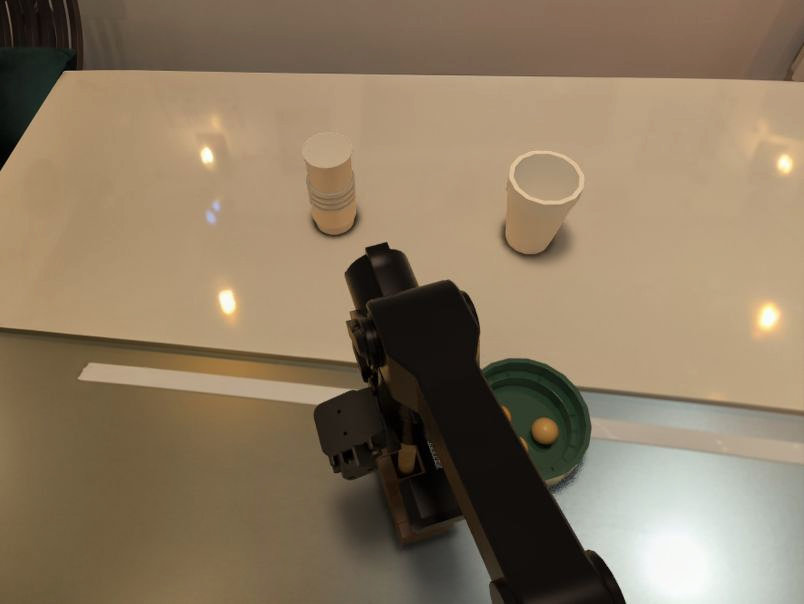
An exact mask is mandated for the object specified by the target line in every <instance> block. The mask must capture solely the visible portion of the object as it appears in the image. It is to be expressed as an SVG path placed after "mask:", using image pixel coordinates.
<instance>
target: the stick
mask: <svg viewBox="0 0 804 604" xmlns="http://www.w3.org/2000/svg"><path fill="white" fill-rule="evenodd" d="M401 446H402V449H401V450H399V456H398V463H397V477H398V479H402V478H405V477H409V476H412V475H414V470H415V456H416V449H415V446H412V445H404V444H403V443H402V444H401Z"/></svg>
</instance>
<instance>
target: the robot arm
mask: <svg viewBox="0 0 804 604" xmlns="http://www.w3.org/2000/svg"><path fill="white" fill-rule="evenodd" d="M364 253H365V254H363V255H361V256H360V257H358V258H357V259H355V260H354V261H353V262H352V263H351V264H350V265H349V266H348V267H347V268H346V271H344V279H345V282H346V285H347V289H348V291H349V294H350V297H351V300H352V303H353V306H354V310H350V311H349V316H350V319H349V320H345V324H346V328H347V333H348V337H349V338H350V340H351V347H352V351H353V355H354V357H355V360H356V364H357V367H358V370H359V372H360V375H361V378H362V381H363V383H366V384H367V387H364V388H363V387H362V388H360V389H350V390H348V391H344V392H343V393H341V394H338V395H336V396H333V397H331V398H330V399H327V400H324V401H322V402H321V403H318V405H316V407H315V408H314V410H313V414H312V415H313V420H314V425H315V428H316V433H317V437H318V441H319V444H320V447H321V452H322V453H323V454H324V455H325V456H326V457H327V458H328V461H329V465H330V467H331V468H332V471H333V474H341V478H342V479H344V480H346V481H355V480H358V479H361V478H363V477H365V476H367V475H370V474H372V473H375V472H376V471H377V470H378V465H377V462H376V460H377V458H378V457H379V456H381V455H382V454H383V453H382V450H381V449H384V448H386V451H387V454H388V453H392V452H395V451H398V450H401V449H402V446H401V444H402V443H403V444H404V445H412V446H415V449H416V452H417V455H418V457H419V460H420V463H421V466H422V469H423V472H424V473H423V474H420V475H416V476H413V477H410V478H407V479H405V480H404V481H402V482H400V483H398V484H397V489H398V492H399V496H400V500H401V503H402V506H403V510H404V513H405V516H406V519H407V522H408V525H409V528H410V530H412V531H414V532H415V533H417V534H420V533H423V532H427V531H430V530H433V529H436V528H439V527H443V526H446V525H449V524H452V523H454V524H455V523H460V522H462V521H464V520H465V523H466V524H467V527H468V529H469V531H470V534H471V536H472V539H473V541H474V543H475V545H476V548H477V550H478V553H479V555H480V557H481V559H482V562H483V565H484V566H485V569H486V571H487V573H488V575H489V578H490V580H491V581H489V584H488V588H489V596H490V600H491V604H627V601H626V599H625V596H624V593H623V591H622V589H621V587H620V585H619V583H618V581H617V579H616V577H615V575H614V573H613V572H612V570H611V569H610V567H609V566H608V564H607V563H606V561H605V560H604V558H602V557H601V556H600V555H599V554H598V553H597V552H596V551H595V550H592V549H590V548H589V549H586V550H585V548H584V546H583V545H582V543H581V540H580V539H579V538H578V536H577V534H576V533H575V530H574V529H573V527H572V525H571V524H570V522H569V520H568V518H567V517H566V515H565V513H564V512H563V510H562V508H561V506H560V504H559V503H558V501H557V500H556V498H555V496H554V494H553V492H552V491H551V488H550V487H548V486H547V484H546V482H545V480H544V479H543V477H542V475H541V473H540V472H539V470H538V468H537V466H536V465H535V463H534V461H533V460H532V458H531V456H530V454H529V453H528V451H527V449H526V447H525V446H524V444H523V442H522V440H521V439H520V437H519V435H518V433H517V432H516V430H515V428H514V427H513V425H512V423H511V421H510V420H509V418H508V416H507V414H506V413H505V411H504V409H503V407H502V406H501V404H500V402H499V400H498V399H497V397H496V395H495V394H494V392H493V390H492V388H491V387H490V385H489V383H488V381H487V380H486V378H485V376H484V374H483V372H482V368H481V325H480V319H479V314H478V313H477V310H476V307H475V304H474V302H473V300H472V298H471V296H470V295H469V294H468V292H466V291H465V290H461V289H460V288H459V286H458V285H457V284H456V283H455V282H454V281H453V280H451V279H441V280H438V281H434V282H431V283H426V284H423V285H420V284H419V282H418V280H417V277H416V275H415V273H414V270H413V268H412V265H411V263H410V261H409V258H408V256H407V255H406V253H404V252H403V251H402V250H400V249H396V248H390V245H389V243H388V241H383V242H380V243H376V244H373V245H369V246H365V247H364ZM429 444H430V445H429ZM432 452H433V453H432ZM435 461H436V462H435ZM437 465H438V466H437Z"/></svg>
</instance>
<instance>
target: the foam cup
mask: <svg viewBox="0 0 804 604" xmlns="http://www.w3.org/2000/svg"><path fill="white" fill-rule="evenodd" d="M507 175H508V176H507V181H506V186H505V190H506V192H507V193H506V194H507V195H506V214H505V215H506V216H505V217H506V218H505V231H504V232H505V235H504V236H505V240H506V242H507V244H508V245H509V247H511V248H512V249H513V250H514V251H515V252H518V253H521V254H524V255H537V254H540V253H541V252H544V251H545V250H546V249H547V247H548V246H549V245H550V243H551V242H552V240H553V239H554V237H555V236H556V234H557V232H558V231H559V229H560V228H561V227H562V224H563V223H564V221H565V220H566V219H567V217H568V216H569V213H570V212H571V211H572V210H573V208H574V207H575V206H576V204H577V203H579V201H580V199H581V196H582V193H583V191H584V188H585V175H584V172H583V171H582V169H581V168H580V166H579V164H578V163H577V162H575V161H574V160H572V159H571V158H570V157H568V156H567V155H565V154H562V153H559V152H555V151H553V150H552V151H551V150H531V151H529V152H526V153H523V154H520V155H519V156H518V157H517V158H516V159H515V160H514V161H513V162H512V163H511V164H510V167H509V171H508V174H507Z"/></svg>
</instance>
